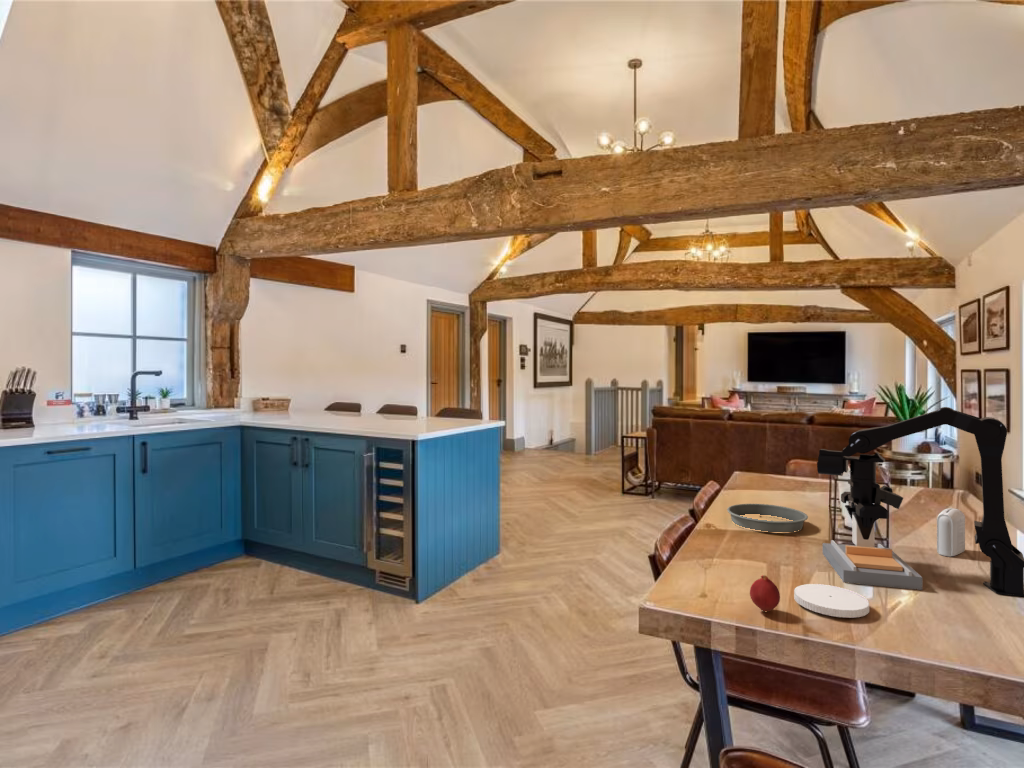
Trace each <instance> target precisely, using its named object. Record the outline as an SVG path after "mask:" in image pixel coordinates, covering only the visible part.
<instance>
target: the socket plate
mask: <svg viewBox="0 0 1024 768" xmlns="http://www.w3.org/2000/svg"><path fill="white" fill-rule="evenodd" d="M835 541H836V540H833V539H831V540H830V543H826V542H822V555H823V556H824V558H825V557H826V558H825V559H826V560H827V561H828V563H829V564H830V566H831V567H832V569H833V568H834V569H833V570H834V572H837V573H836V574H837V576H838V575H839V576H840V577H839V576H838V577H839V578H840V580H841V579H842V580H841V581H842V582H843V583H844V582H849V583H848V584H854V583H860V584H859V585H864V584H867V585H868V586H876V587H886V588H887V587H888V588H895V589H896V588H897V589H898V588H899V589H907V590H916V589H917V591H923V577H922V576H921V574H919V573H918V571H916V570H915V569H914V568H913V567H911V566H910V565H909V564H908V563H907V562H906V561H904V559H902V558H901V557H900V555H898V554H897V553H896V552H895V551H894V550H892V558H893V559H894V560H895V561H896V562H898V563H899V564H900V565H901V566H902V567H903V571H894V570H882V569H871V568H860V567H856V566H855V565H854V564H853V563H852V561H851V560H850V559H849V558H848V557H847V556H846V545H847V546H856V545H855V544H854V545H853V544H852V545H851V544H842V543H840V544H837V543H836V542H835ZM875 548H886V549H891V548H890V547H885V546H883V545H882V544H881V543H877V546H875ZM867 585H866V586H867Z"/></svg>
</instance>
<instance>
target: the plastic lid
mask: <svg viewBox="0 0 1024 768" xmlns="http://www.w3.org/2000/svg"><path fill="white" fill-rule="evenodd" d="M793 593H794V594H793V598H794V601H795V602H796V603H797V604H798V605H800V606H801V607H804V608H805V609H807V610H810V611H812V612H815V613H819V614H822V615H824V616H825V615H826V616H831V617H836V618H849V619H850V618H860V617H861V618H862V617H864V616H867V615H868V614H869V613H870V601H869V600H868V598H866V597H865V596H863V595H862V594H860V593H858V592H856V591H853V590H850V589H847V588H844V587H841V586H840V587H839V586H836V585H831V584H830V585H829V584H822V583H821V584H820V583H805V584H801V585H797V586H796V587H795V588H794V589H793Z"/></svg>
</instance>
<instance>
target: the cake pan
mask: <svg viewBox="0 0 1024 768" xmlns="http://www.w3.org/2000/svg"><path fill="white" fill-rule="evenodd" d="M726 510H727V513H729V514H730V517H731V518H730V519H731V522H732V521H733V522H734V523H735V524H737V525H739V526H742V527H745V528H750V529H755V530H761V531H768V532H794V531H798V530H800V529H801V530H802V529H803V526H804V523H805V521H807V520H808V518H809V516H808V514H807V513H806V512H804V511H801V510H798V509H795V508H792V507H787V506H782V505H777V504H776V505H775V504H767V503H766V504H765V503H738V504H733V505H730V506H728V507H727V509H726ZM745 514H760V515H771V516H777V517H782V518H786V519H789V520H793V521H787V520H782V521H781V520H771V521H767V520H758V519H752V518H747V517H743V516H740V515H745ZM801 530H800V531H801ZM798 532H799V531H798ZM794 533H795V532H794Z"/></svg>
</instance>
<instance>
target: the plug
mask: <svg viewBox="0 0 1024 768" xmlns="http://www.w3.org/2000/svg"><path fill="white" fill-rule="evenodd" d="M854 513H856V512H854ZM851 521H852V523H851V526H852V528H851V532H852V534H851V535H852V536H851V537H852V540H851V541H852V543H853V544H854V545H855V546H860V547H873V548H875V547H876V545H875V524H874V525H873V528H872V530H871V533H870V536H869V539H868V540H865V539H863V537H862V535H861V532H860V529H859V527H858V524H857V522H856V519H855V517H854V514H853V512H852V519H851Z"/></svg>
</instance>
